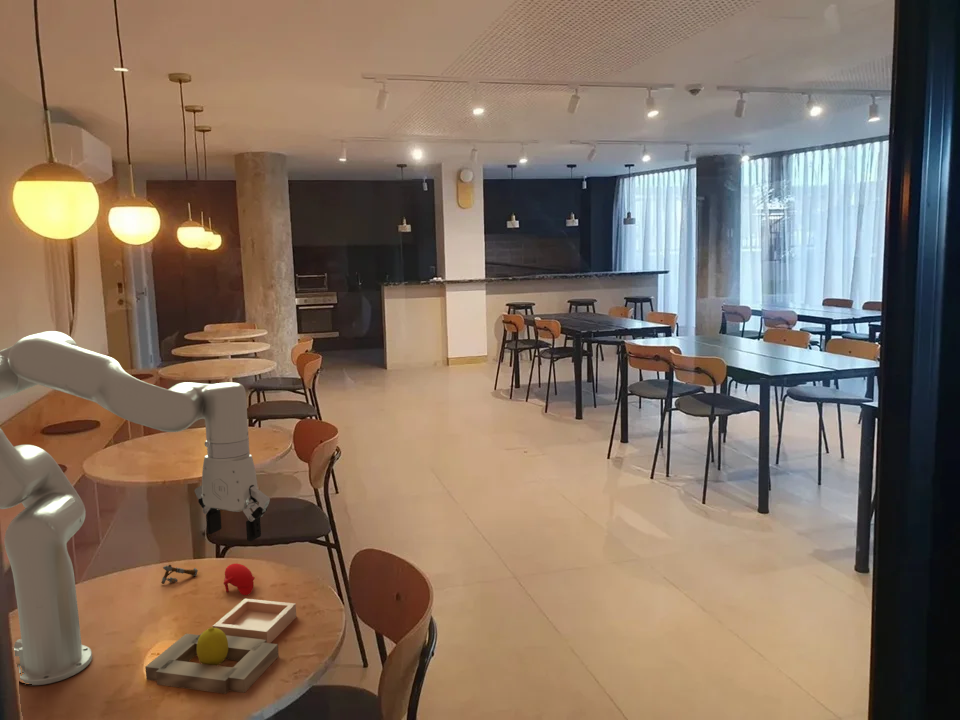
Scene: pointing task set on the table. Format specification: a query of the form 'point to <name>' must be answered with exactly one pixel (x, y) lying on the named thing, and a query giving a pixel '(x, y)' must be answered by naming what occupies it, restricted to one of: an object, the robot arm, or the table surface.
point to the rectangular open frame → (212, 678)
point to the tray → (257, 619)
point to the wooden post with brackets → (179, 570)
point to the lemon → (212, 646)
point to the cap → (239, 578)
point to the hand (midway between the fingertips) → (234, 535)
